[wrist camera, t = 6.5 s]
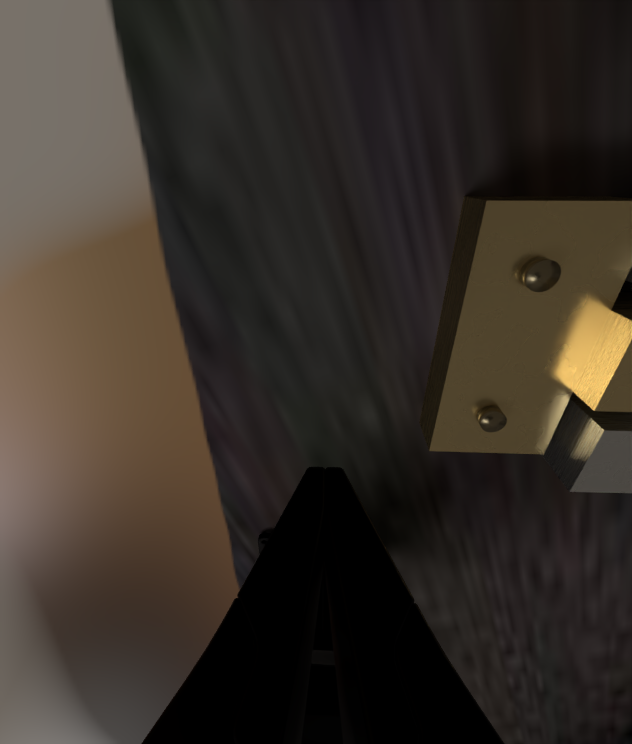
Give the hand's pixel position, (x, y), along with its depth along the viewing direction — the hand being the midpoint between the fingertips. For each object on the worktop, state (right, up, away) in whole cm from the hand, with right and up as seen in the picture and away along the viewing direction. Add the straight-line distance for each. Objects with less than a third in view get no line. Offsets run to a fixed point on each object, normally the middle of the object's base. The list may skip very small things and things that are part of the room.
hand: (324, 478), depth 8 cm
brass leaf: (+11, +5, +9) cm, 15 cm away
